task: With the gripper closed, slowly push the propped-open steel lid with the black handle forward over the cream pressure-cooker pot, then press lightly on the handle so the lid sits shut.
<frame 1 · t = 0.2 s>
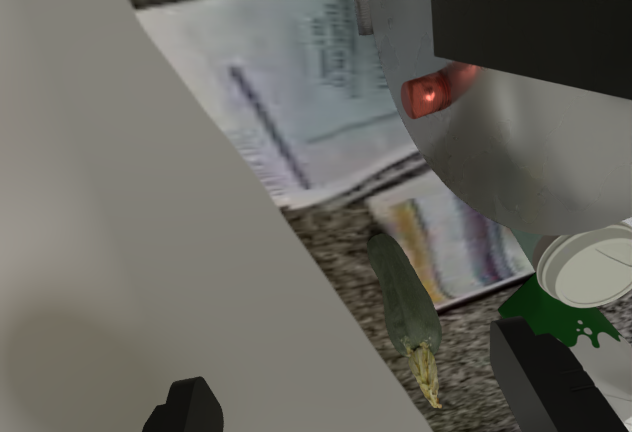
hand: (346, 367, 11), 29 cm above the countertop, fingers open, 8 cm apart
milk carton: (536, 298, 51), on the countertop
vegetable: (381, 232, 45), on the countertop
cooker lid: (481, 0, 14), point 20 cm above the countertop, hinge at 75.0°
coffee cup: (527, 202, 44), on the countertop
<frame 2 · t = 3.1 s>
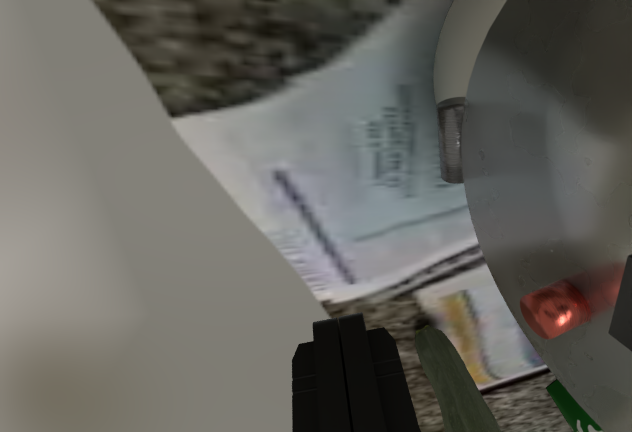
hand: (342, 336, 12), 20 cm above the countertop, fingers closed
milk carton: (587, 376, 48), on the countertop
vegetable: (428, 321, 41), on the countertop
cooker pot: (564, 55, 28), on the countertop
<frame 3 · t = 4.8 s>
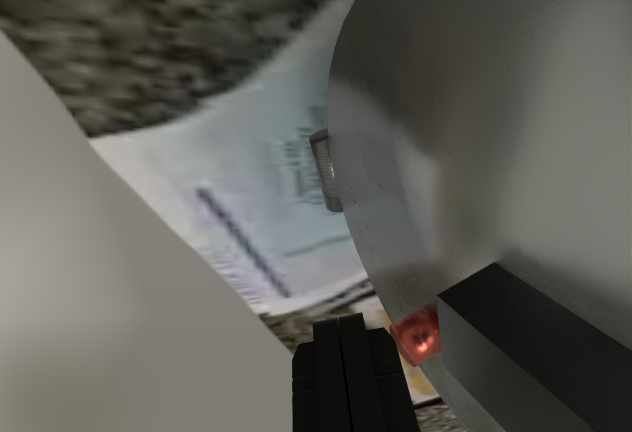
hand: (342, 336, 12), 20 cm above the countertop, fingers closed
cooker lid: (499, 313, 12), point 20 cm above the countertop, hinge at 66.8°, touching hand
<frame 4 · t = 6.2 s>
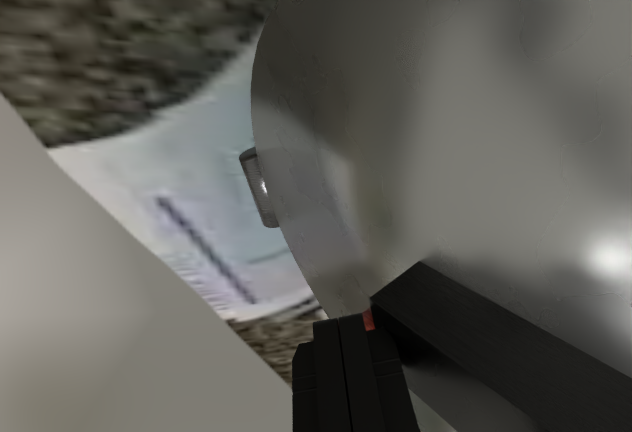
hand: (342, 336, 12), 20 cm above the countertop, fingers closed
cooker lid: (428, 308, 12), point 20 cm above the countertop, hinge at 56.7°, touching gripper
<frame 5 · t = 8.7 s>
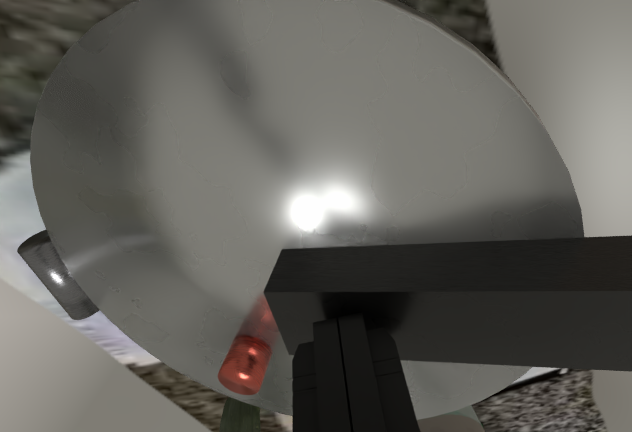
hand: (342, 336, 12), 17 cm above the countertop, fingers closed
vegetable: (249, 381, 40), on the countertop
cooker lid: (303, 286, 14), point 14 cm above the countertop, hinge at 15.5°, touching gripper
coffee cup: (409, 351, 39), on the countertop
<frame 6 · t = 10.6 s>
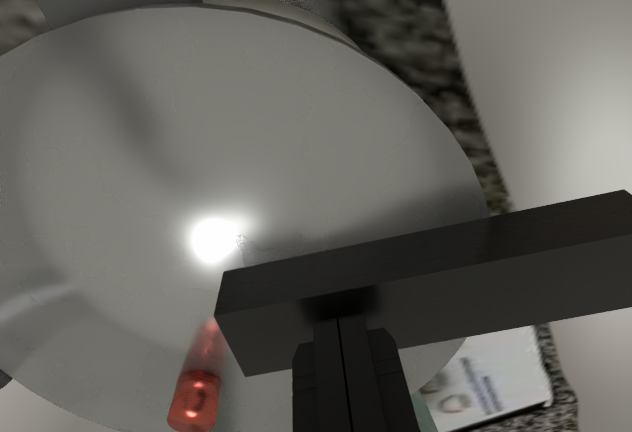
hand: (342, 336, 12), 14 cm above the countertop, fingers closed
cooker pot: (250, 166, 24), on the countertop
cooker lid: (249, 305, 14), point 12 cm above the countertop, hinge at 0.6°
coffee cup: (384, 386, 37), on the countertop
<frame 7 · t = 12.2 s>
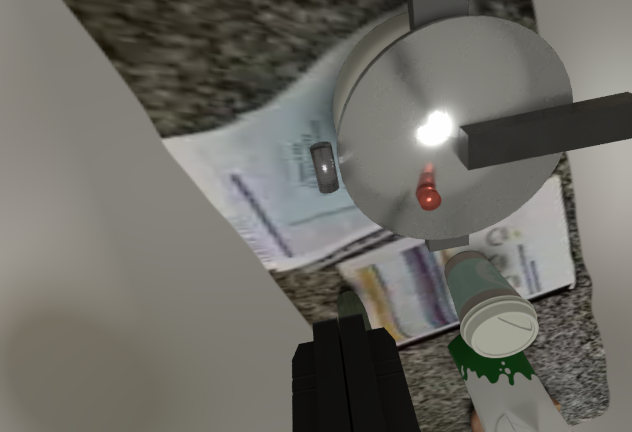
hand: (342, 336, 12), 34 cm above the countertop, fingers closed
milk carton: (478, 337, 63), on the countertop
vegetable: (350, 288, 56), on the countertop
cooker pot: (417, 104, 43), on the countertop
cooker lid: (466, 143, 33), point 12 cm above the countertop, hinge at 0.6°
coffee cup: (465, 266, 55), on the countertop
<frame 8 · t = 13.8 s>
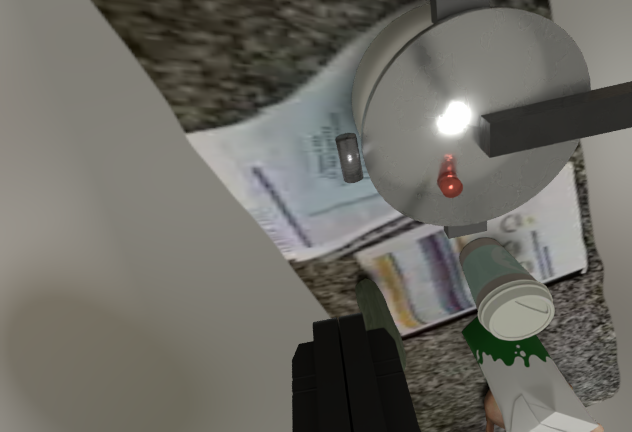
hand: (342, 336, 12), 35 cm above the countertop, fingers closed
milk carton: (492, 322, 64), on the countertop
vegetable: (367, 276, 58), on the countertop
cooker pot: (434, 95, 44), on the countertop
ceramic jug: (514, 386, 74), on the countertop
cooker lid: (486, 132, 34), point 12 cm above the countertop, hinge at 0.6°
coffee cup: (479, 253, 57), on the countertop
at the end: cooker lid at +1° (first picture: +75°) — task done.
